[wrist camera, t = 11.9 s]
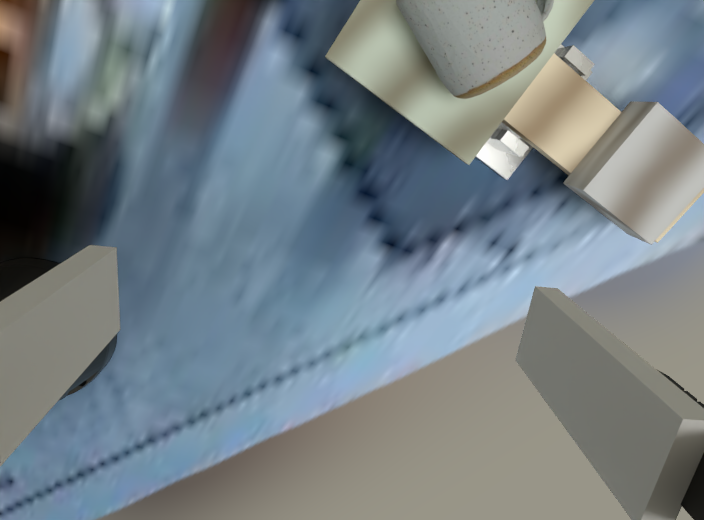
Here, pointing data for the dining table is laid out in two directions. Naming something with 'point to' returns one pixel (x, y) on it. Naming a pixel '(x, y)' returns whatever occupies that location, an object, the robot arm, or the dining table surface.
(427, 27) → the ceramic mug
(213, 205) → the dining table surface
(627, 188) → the balance beam
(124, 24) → the dining table surface
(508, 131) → the stand
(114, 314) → the robot arm
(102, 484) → the dining table surface
